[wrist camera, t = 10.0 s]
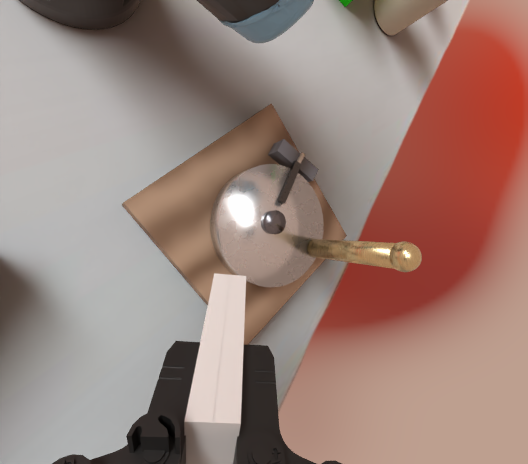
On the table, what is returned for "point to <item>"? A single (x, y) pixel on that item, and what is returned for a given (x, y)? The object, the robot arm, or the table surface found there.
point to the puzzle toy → (345, 2)
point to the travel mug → (402, 13)
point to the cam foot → (286, 230)
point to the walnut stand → (201, 204)
